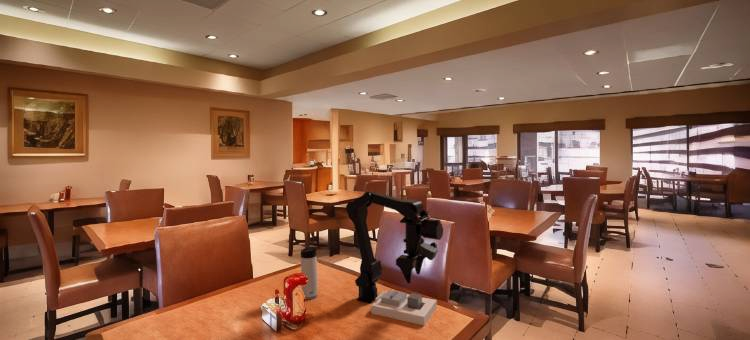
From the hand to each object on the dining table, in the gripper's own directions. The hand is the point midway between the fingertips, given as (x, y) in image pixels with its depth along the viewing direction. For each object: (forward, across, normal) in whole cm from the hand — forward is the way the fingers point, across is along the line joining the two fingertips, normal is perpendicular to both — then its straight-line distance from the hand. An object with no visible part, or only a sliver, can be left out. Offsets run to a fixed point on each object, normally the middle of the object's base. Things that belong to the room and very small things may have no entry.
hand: (413, 278), depth 124 cm
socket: (+12, -1, +3) cm, 13 cm away
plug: (+12, -1, -1) cm, 12 cm away
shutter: (+9, -1, +8) cm, 12 cm away
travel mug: (+13, -6, +42) cm, 45 cm away
